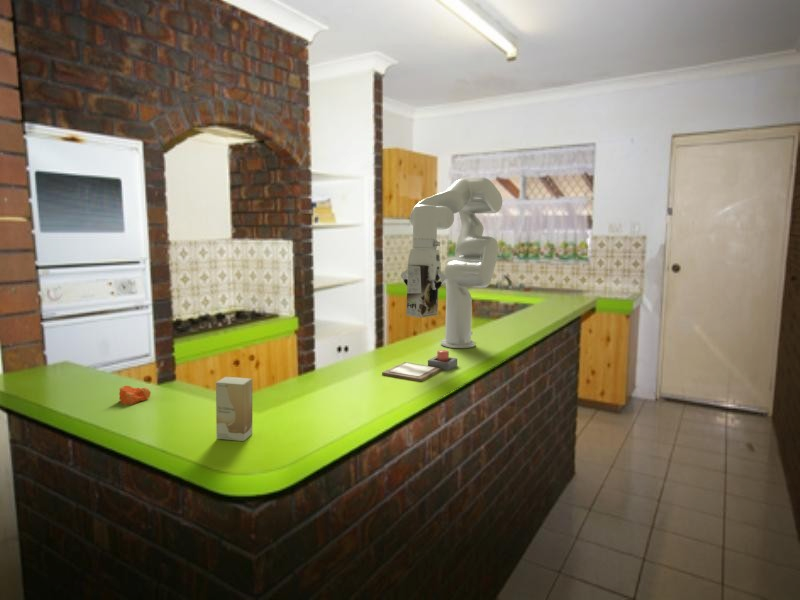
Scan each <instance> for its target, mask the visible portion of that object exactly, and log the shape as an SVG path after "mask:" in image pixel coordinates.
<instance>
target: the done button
mask: <svg viewBox="0 0 800 600" xmlns="http://www.w3.org/2000/svg"><path fill="white" fill-rule="evenodd" d="M449 353H450V352H449V350H442V349H441V350H440V349H439V350H437V353H436V356H437V361H444V362H447V361H449V357H450V356H449V355H450V354H449Z"/></svg>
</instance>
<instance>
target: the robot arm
mask: <svg viewBox="0 0 800 600" xmlns="http://www.w3.org/2000/svg"><path fill="white" fill-rule="evenodd" d="M502 206H503V197H502V194H501V192H500V191H499V189H498V188H497V187H496V185H495V184H494V183H493V182H492V181H491V180H490V179H489V178H486V177H463V178H459V179H457V180H456V181H454V182H453V183H452V184H451V186H449V187H448V188H447V189H446V190H445V191H443V192H439V193H437V194H434V195H431V196H429V197H428V196H427V197H426V198H424V199H422V200H421V201H418V203H417V204H416V205H415V206H413V208H412V210H411V212H410V214H409V221H410V224H411V225H412V248H411V249H410V250H409V254H408V258H407V259H408V261H407V266H408V265H424V266H428V267H429V281H430V284H431V287H432V290H431V291H430V302H431V303H433V302H436V300H437V294H438V295H439V290H440V288H441V286H443V284H444V283H445V289H446V290H445V294H446V295H445V297H446V299H445V333H444V334H445V335H444V336H445V337H444V339H442V340H441V341H440V345H441V346H443V347H445V348H451V349H468V348H469V349H470V348H473V347H474V346H475V345H476V342H475V341H474V340H472V336H473V334H474V333H473V331H472V310H473V309H472V308H473V307H472V306H473V297H472V294H471V293H470V291H469V289H468V288H480V289H481V288H483V289H484V288H487V287H488V286H490V284H491V283H492V282H491V281H492V279H493V276H494V271H495V267H496V264H497V260H498V254H499V244H498V241H497V239H496V238H494V237H493V236H489V235H488V236H486V235H485V236H483V234H484V230H485V228H484V225H483V223H482V222H481V220H480V219H479V218H478V216H477V214H498V213H499V212H500V210H501V209H502V208H503V207H502ZM457 213H459V218H460V222H461V223H460V224H461V227H460V231H459V234H458V238H457V240H456V244H455V248H454V255H455V257H456V258H457V260H451V261H449V262H448V263H446V264H445V266H444V271H443V272H444V273H443V272H442V270H441V268H442V267H441V266H442V265H441V264H442V263H441V255H440V249H437V247H439V246H440V245H441V242H440V241H438V239H437V237H438V235H437V234H438V230H439V231H441V230H447V229H449V228H451V227H452V225H454V222H455V221H454V220H455V215H454V214H457ZM400 278H401V279H402V280H403V282H404V284H405V285H406V286H407V282H408V267H407V268H406V269H405V270H404V271H403V272H402V273H401V274H400ZM436 279H437V280H439V282H437V280H436Z"/></svg>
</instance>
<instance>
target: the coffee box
mask: <svg viewBox="0 0 800 600" xmlns="http://www.w3.org/2000/svg"><path fill="white" fill-rule="evenodd" d="M407 268H408V277H407V278H408V282H407V285H406V314H405V315H406V316H407V317H414V318H415V317H416V318H420V319H421V318H428V317H434V316H438V313H439V311H438V309H439V304H438V303H439V293H438V294H437V300H436V302H433V303H431V302H430V291H431V290H432V287H431V284H430V281H429V267H428V266H424V265H408V264H407ZM436 280H437V279H436ZM439 281H440V280H437V282H439Z"/></svg>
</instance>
